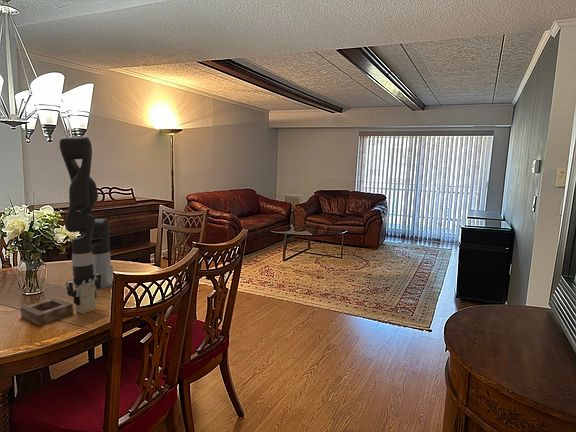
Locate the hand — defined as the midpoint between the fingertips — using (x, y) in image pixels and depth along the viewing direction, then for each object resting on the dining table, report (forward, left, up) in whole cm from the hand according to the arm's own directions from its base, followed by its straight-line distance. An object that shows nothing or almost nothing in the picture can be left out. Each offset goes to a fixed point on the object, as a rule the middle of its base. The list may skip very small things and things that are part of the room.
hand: (85, 302), depth 157 cm
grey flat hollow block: (+11, -8, -4) cm, 14 cm away
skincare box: (0, 0, -4) cm, 4 cm away
